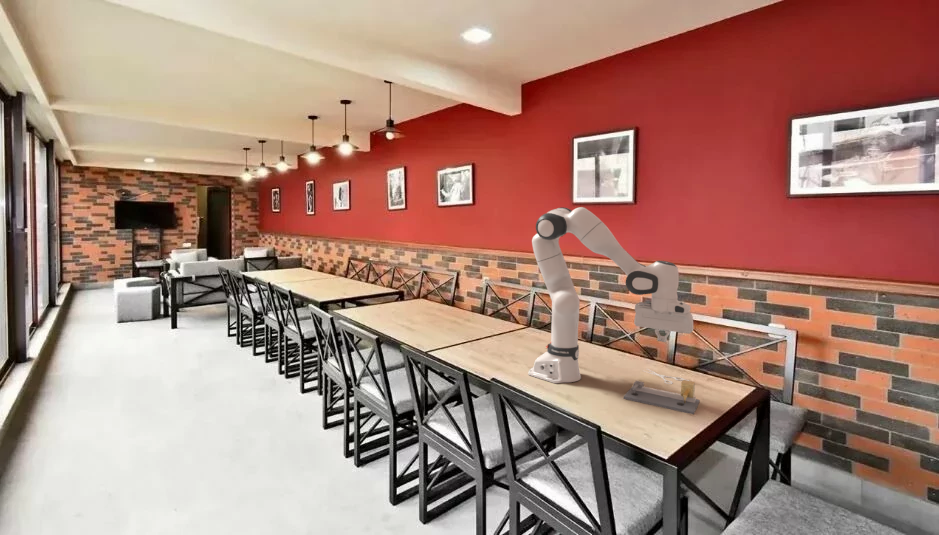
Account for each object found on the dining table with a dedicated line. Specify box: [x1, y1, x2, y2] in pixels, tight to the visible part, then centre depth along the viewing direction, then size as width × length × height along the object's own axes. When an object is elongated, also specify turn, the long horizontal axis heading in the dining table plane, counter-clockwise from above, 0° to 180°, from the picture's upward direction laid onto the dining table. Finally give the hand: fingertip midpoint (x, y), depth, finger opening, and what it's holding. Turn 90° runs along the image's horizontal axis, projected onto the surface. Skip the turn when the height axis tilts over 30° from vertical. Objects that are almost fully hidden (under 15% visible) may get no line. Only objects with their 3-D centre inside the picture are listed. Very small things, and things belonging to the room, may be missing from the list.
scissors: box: [643, 368, 691, 385], centre depth 193 cm, size 11×1×20 cm
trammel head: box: [680, 379, 696, 403], centre depth 163 cm, size 4×7×6 cm, turn 145°
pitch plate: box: [623, 380, 701, 415], centre depth 167 cm, size 24×12×4 cm, turn 55°
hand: (662, 341), depth 168 cm, fingers closed
